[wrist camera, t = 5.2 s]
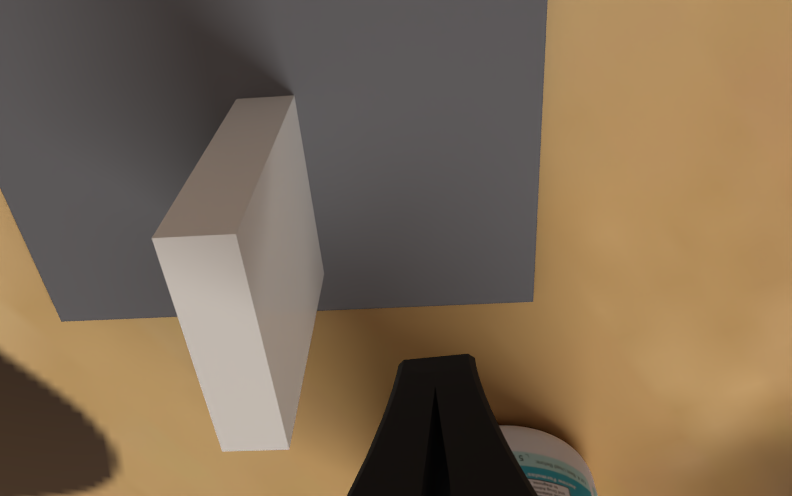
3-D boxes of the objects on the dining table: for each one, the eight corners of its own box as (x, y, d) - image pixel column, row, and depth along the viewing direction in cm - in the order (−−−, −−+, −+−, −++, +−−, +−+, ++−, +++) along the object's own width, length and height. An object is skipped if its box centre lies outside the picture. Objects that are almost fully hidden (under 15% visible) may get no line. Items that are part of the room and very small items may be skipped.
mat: (574, -655, 11) (578, -669, 11) (531, 294, 22) (532, 301, 22) (-316, -537, 12) (-336, -545, 12) (66, 314, 23) (61, 321, 23)
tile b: (294, 95, 18) (236, 233, 12) (324, 273, 21) (289, 449, 16) (234, 99, 18) (148, 238, 12) (273, 276, 22) (220, 451, 16)
